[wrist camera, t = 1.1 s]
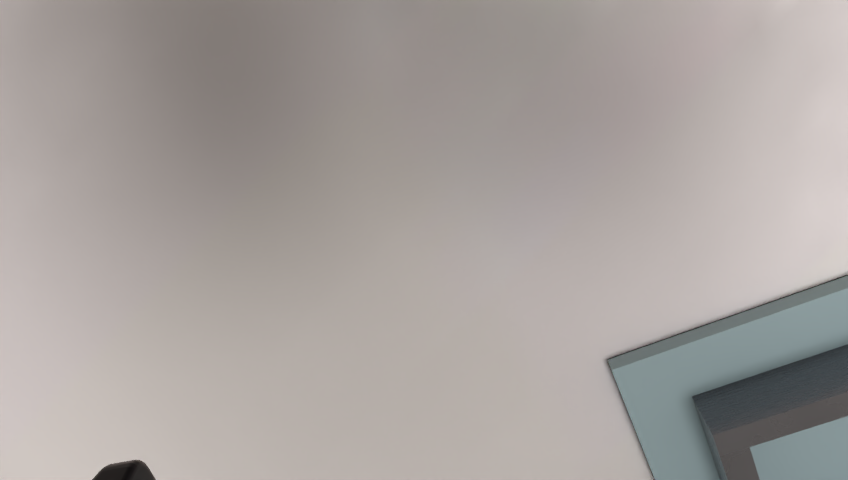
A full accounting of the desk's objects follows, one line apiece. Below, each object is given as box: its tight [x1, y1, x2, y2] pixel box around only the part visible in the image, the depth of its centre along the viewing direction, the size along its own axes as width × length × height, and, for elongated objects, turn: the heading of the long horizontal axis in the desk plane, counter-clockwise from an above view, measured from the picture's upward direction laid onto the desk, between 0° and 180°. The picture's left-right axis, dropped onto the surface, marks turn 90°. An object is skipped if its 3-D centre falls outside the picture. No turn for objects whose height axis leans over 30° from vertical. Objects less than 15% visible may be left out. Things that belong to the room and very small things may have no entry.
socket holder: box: [608, 276, 848, 480], centre depth 26 cm, size 13×13×3 cm
